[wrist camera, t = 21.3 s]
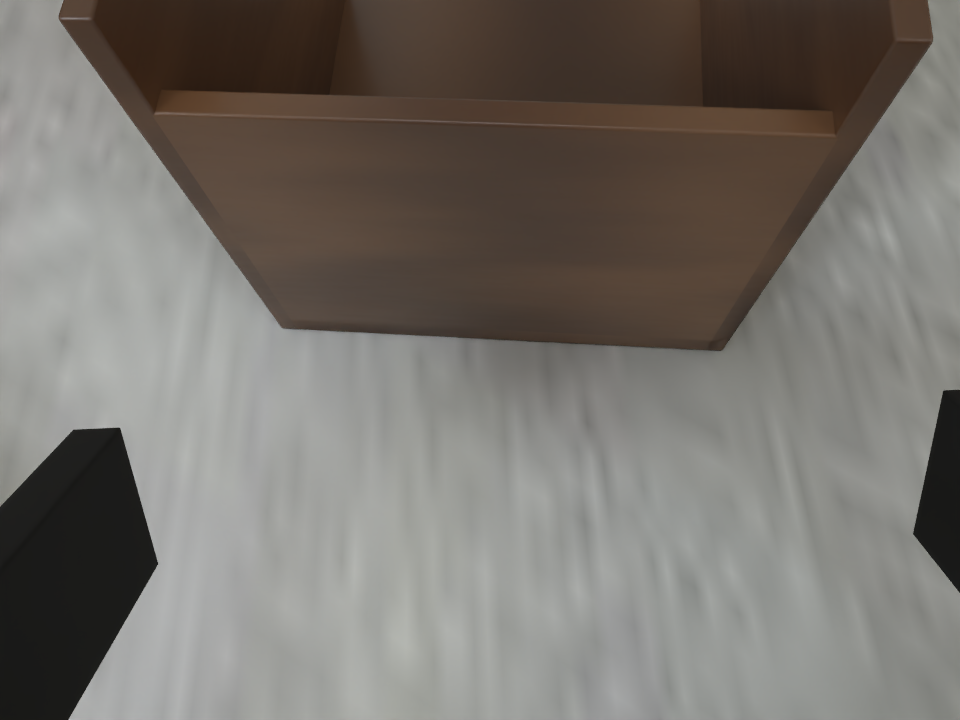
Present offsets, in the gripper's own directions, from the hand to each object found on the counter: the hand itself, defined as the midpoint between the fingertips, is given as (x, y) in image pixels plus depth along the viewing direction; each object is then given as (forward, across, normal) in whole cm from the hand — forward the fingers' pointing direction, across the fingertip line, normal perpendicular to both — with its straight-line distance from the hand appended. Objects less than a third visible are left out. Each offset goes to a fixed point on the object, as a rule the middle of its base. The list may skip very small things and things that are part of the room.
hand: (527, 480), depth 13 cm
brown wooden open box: (+12, 0, +3) cm, 12 cm away
